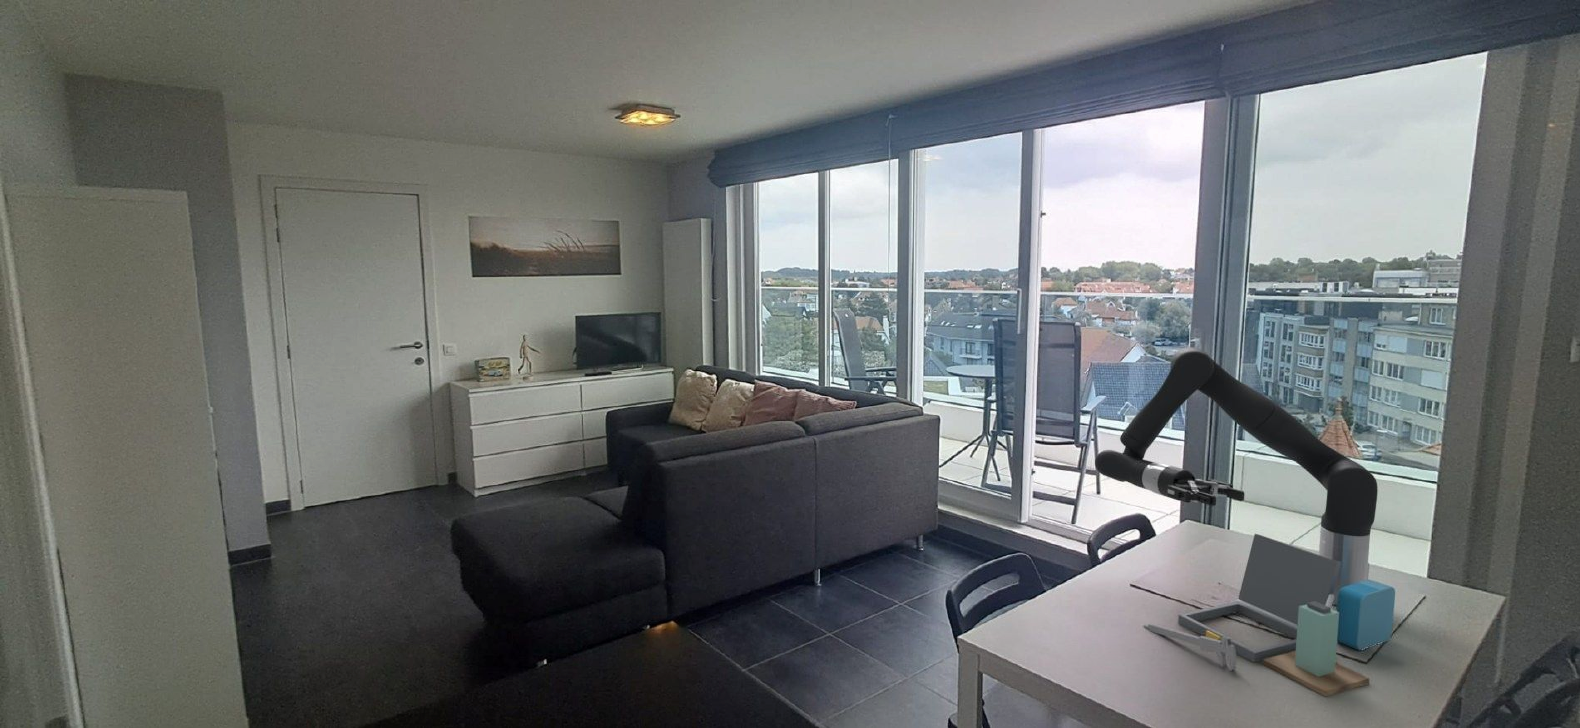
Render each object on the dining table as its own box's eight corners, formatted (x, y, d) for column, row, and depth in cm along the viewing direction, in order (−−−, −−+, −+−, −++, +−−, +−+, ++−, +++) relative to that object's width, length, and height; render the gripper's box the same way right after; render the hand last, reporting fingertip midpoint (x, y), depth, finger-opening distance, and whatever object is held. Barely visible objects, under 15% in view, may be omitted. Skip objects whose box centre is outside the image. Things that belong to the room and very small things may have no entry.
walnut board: (1304, 653, 147) (1305, 648, 146) (1368, 683, 135) (1369, 678, 135) (1262, 664, 143) (1262, 659, 142) (1324, 696, 131) (1325, 691, 131)
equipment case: (1254, 605, 168) (1259, 532, 166) (1340, 643, 150) (1346, 562, 148) (1176, 623, 160) (1179, 547, 158) (1256, 665, 142) (1262, 580, 140)
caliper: (1235, 671, 140) (1237, 641, 140) (1232, 673, 140) (1233, 642, 139) (1146, 627, 159) (1147, 600, 158) (1142, 628, 159) (1144, 600, 158)
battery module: (1310, 660, 142) (1315, 598, 140) (1334, 672, 138) (1339, 608, 136) (1294, 665, 140) (1299, 602, 139) (1318, 676, 136) (1323, 612, 135)
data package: (1367, 631, 155) (1371, 577, 154) (1391, 640, 151) (1396, 585, 150) (1333, 642, 151) (1337, 588, 149) (1357, 652, 147) (1362, 596, 145)
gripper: (1145, 469, 171) (1206, 486, 156) (1190, 462, 175) (1253, 478, 160) (1144, 499, 171) (1204, 519, 156) (1189, 492, 176) (1251, 511, 161)
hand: (1229, 499), depth 158 cm, fingers open, 8 cm apart
